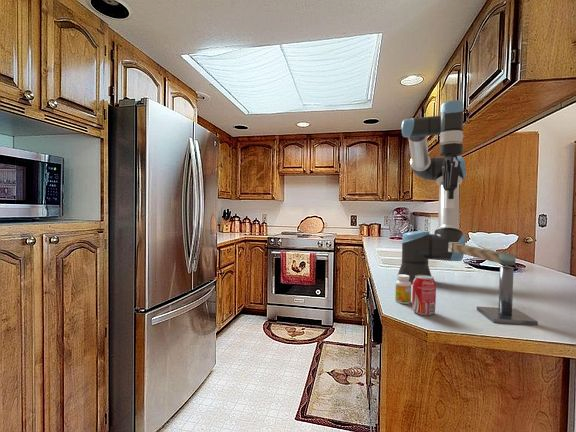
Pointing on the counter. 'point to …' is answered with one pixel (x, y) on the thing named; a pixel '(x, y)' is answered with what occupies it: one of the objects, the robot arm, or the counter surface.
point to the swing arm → (482, 253)
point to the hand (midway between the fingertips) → (449, 208)
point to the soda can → (424, 295)
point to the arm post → (506, 303)
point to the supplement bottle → (403, 289)
